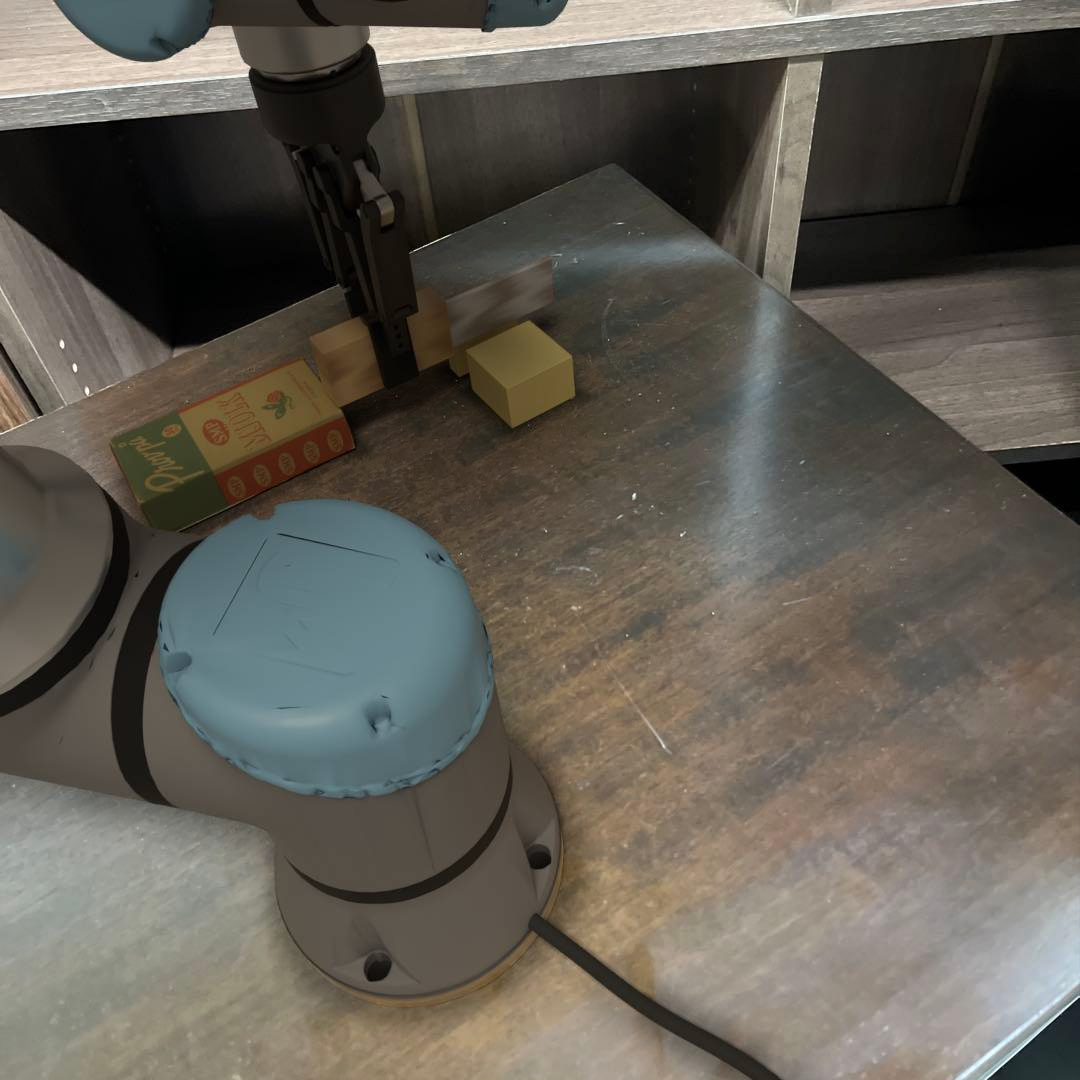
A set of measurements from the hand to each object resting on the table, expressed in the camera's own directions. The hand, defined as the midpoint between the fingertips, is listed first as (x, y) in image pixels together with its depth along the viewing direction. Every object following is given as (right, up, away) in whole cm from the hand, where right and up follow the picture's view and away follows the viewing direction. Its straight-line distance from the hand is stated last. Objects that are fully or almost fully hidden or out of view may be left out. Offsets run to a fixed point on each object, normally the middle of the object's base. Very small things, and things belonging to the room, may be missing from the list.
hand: (391, 369), depth 75 cm
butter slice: (+7, +2, +7) cm, 10 cm away
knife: (+4, +2, +2) cm, 5 cm away
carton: (-12, -7, +1) cm, 14 cm away
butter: (+10, -1, +4) cm, 11 cm away
